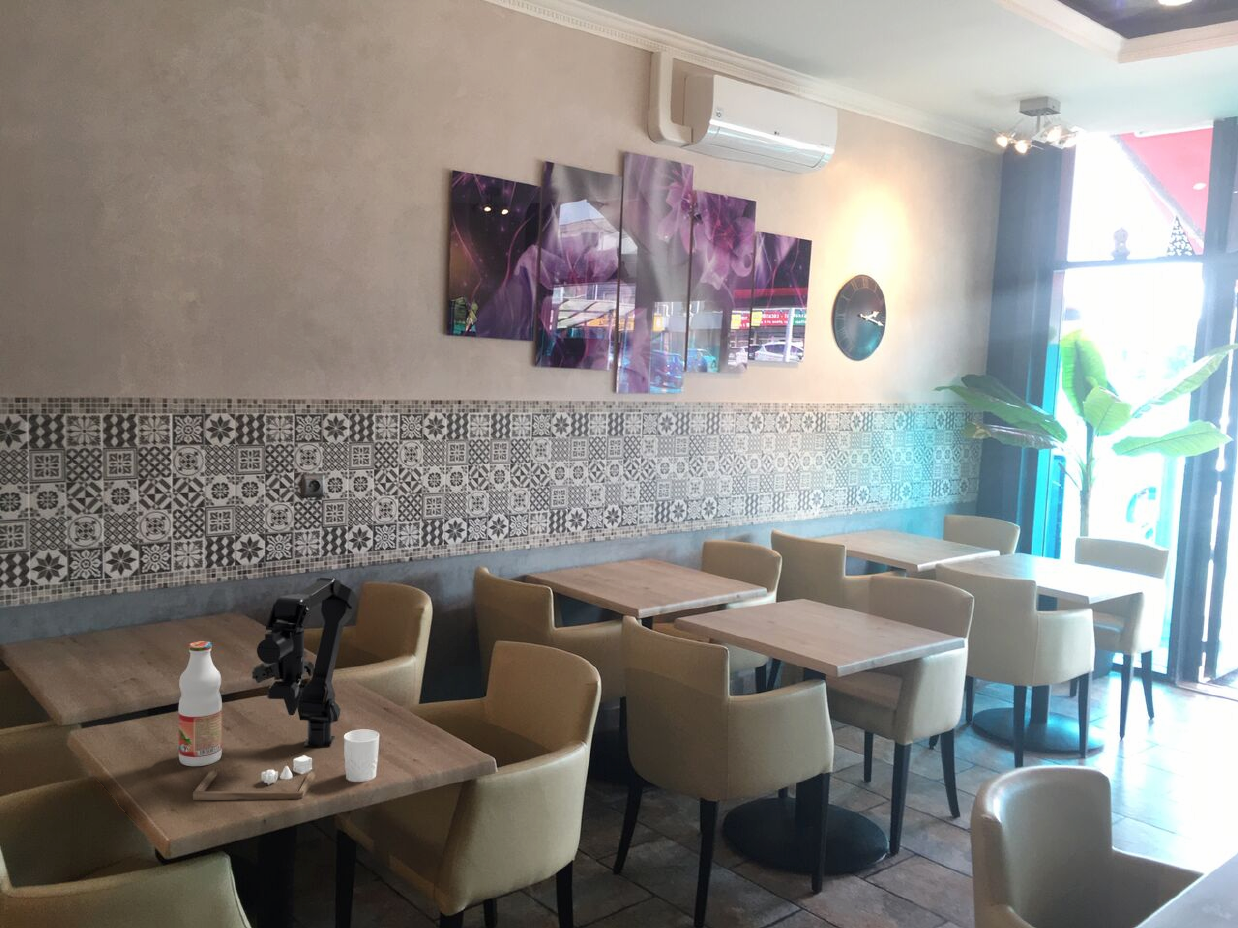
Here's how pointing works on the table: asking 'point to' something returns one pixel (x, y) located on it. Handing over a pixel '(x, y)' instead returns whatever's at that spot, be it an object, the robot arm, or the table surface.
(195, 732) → the fruit juice
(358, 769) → the white cup
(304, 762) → the game pieces
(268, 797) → the rail corral
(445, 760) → the table surface
